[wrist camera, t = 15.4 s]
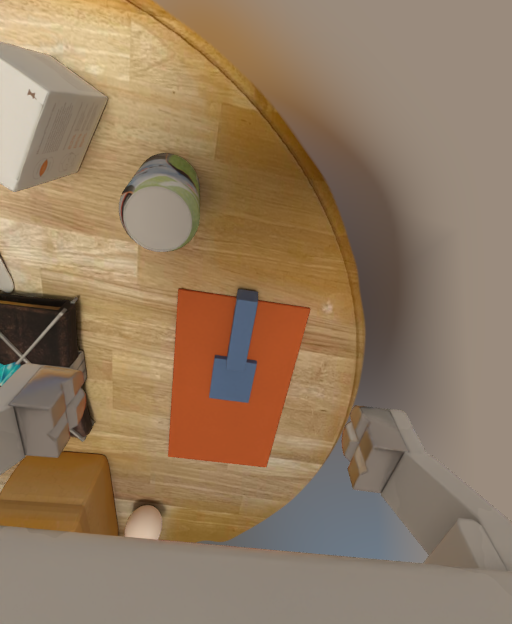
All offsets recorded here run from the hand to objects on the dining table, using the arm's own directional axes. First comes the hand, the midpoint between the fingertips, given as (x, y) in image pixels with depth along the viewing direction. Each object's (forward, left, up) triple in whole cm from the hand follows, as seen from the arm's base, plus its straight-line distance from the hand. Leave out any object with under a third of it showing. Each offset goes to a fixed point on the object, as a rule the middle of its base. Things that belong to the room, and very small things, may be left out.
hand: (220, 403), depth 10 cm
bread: (+56, +19, -29) cm, 66 cm away
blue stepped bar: (+13, +13, -29) cm, 34 cm away
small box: (+8, -17, -29) cm, 35 cm away
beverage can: (+4, -6, -29) cm, 30 cm away
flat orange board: (+19, +18, -29) cm, 39 cm away
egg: (+49, +29, -29) cm, 64 cm away
